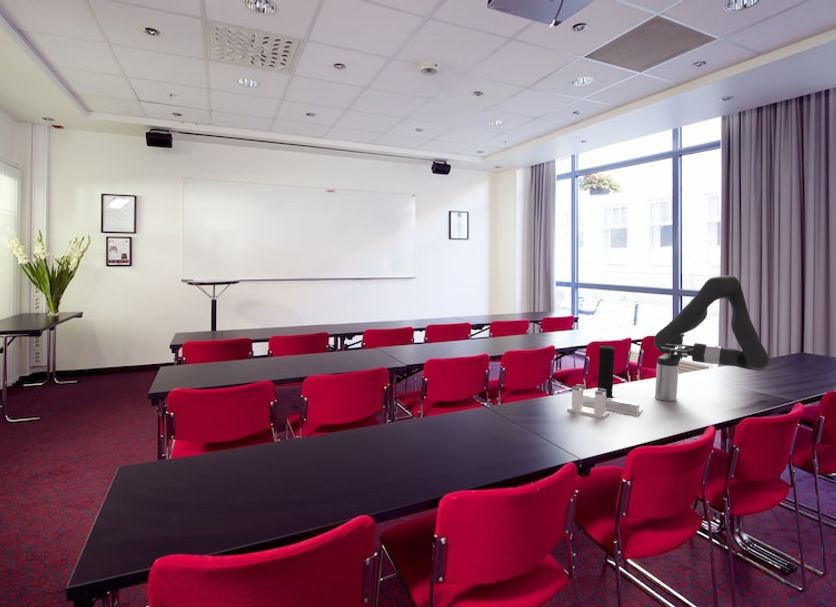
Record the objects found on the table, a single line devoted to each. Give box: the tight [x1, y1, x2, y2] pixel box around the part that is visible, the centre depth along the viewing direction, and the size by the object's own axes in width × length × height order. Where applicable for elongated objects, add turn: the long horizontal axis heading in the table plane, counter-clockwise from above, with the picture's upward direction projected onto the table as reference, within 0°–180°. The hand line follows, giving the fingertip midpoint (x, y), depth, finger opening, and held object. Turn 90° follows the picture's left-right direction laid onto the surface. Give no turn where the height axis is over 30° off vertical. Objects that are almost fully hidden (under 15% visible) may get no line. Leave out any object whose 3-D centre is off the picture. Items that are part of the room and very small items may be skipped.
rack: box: [567, 383, 610, 420], centre depth 200 cm, size 7×16×11 cm, turn 50°
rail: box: [583, 392, 640, 413], centre depth 208 cm, size 24×4×4 cm, turn 50°
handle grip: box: [596, 344, 616, 399], centre depth 220 cm, size 10×26×10 cm
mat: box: [583, 402, 644, 417], centre depth 209 cm, size 10×28×1 cm, turn 50°
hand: (662, 348), depth 192 cm, fingers open, 8 cm apart
